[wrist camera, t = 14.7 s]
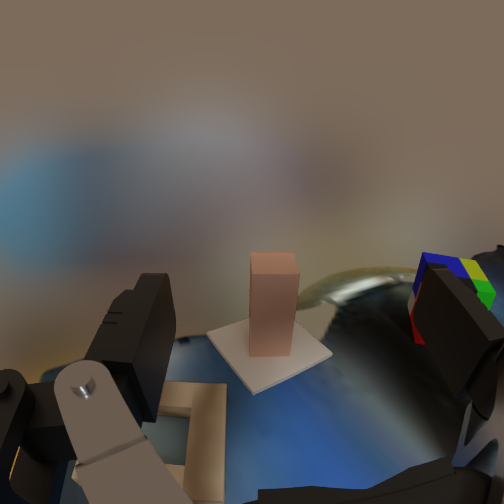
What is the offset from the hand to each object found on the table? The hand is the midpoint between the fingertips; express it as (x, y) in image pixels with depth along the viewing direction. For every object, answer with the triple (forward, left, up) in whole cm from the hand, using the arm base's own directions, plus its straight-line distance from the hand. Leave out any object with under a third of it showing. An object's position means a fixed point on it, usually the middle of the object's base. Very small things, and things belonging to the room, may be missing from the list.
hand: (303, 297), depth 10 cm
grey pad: (-13, -19, -24) cm, 34 cm away
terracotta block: (-13, -19, -24) cm, 33 cm away
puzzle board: (+5, -12, -24) cm, 28 cm away
